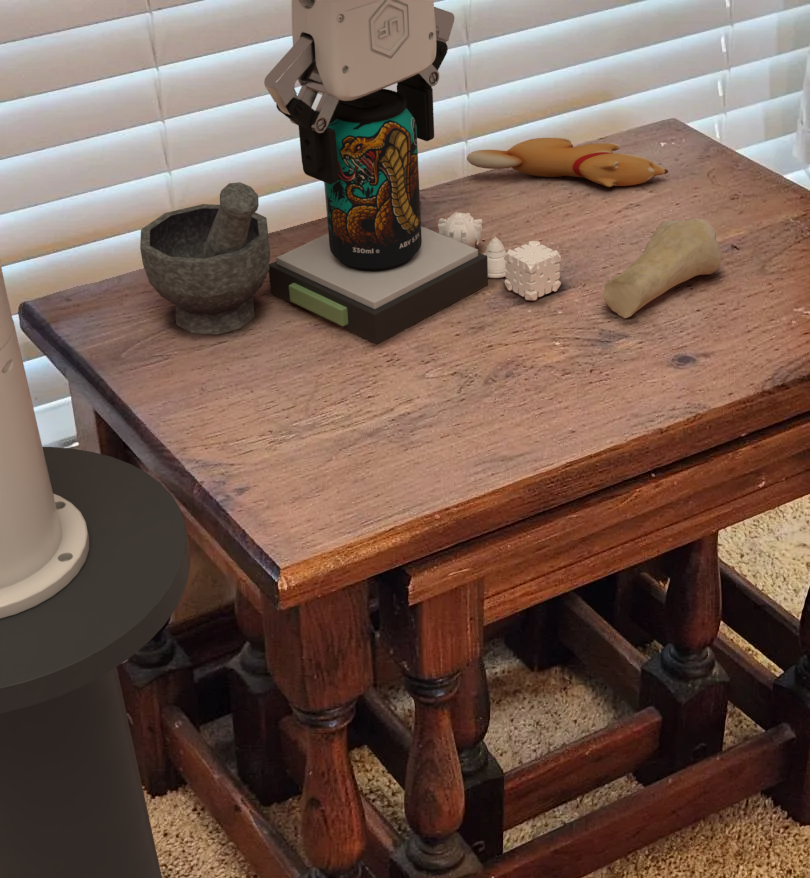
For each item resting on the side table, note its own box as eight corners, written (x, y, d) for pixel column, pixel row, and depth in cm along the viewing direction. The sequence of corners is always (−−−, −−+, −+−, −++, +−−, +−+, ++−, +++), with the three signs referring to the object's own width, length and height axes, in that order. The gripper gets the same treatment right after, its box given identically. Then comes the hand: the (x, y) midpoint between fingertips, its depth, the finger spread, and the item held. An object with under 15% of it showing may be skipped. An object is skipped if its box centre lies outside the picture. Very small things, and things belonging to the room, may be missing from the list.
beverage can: (381, 284, 115) (371, 129, 108) (311, 259, 119) (297, 108, 111) (440, 248, 119) (435, 96, 112) (371, 225, 123) (361, 77, 116)
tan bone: (659, 249, 124) (663, 193, 121) (734, 265, 121) (740, 209, 118) (600, 312, 116) (603, 254, 113) (679, 331, 114) (684, 272, 111)
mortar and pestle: (128, 315, 119) (102, 169, 112) (224, 272, 124) (206, 129, 117) (216, 367, 113) (195, 214, 105) (315, 319, 118) (301, 171, 110)
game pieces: (561, 290, 119) (562, 252, 117) (529, 304, 118) (529, 266, 116) (463, 238, 127) (462, 201, 125) (431, 250, 126) (430, 214, 124)
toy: (661, 176, 137) (668, 197, 132) (465, 168, 137) (465, 189, 132) (666, 139, 135) (672, 159, 131) (467, 131, 135) (467, 151, 131)
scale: (371, 347, 114) (368, 310, 112) (265, 296, 121) (261, 260, 119) (488, 285, 121) (487, 248, 119) (381, 239, 128) (379, 204, 126)
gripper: (294, -43, 97) (316, 210, 107) (484, -106, 106) (487, 133, 117) (218, -64, 101) (247, 181, 112) (407, -123, 111) (417, 108, 121)
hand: (369, 156), depth 114 cm, fingers open, 9 cm apart
